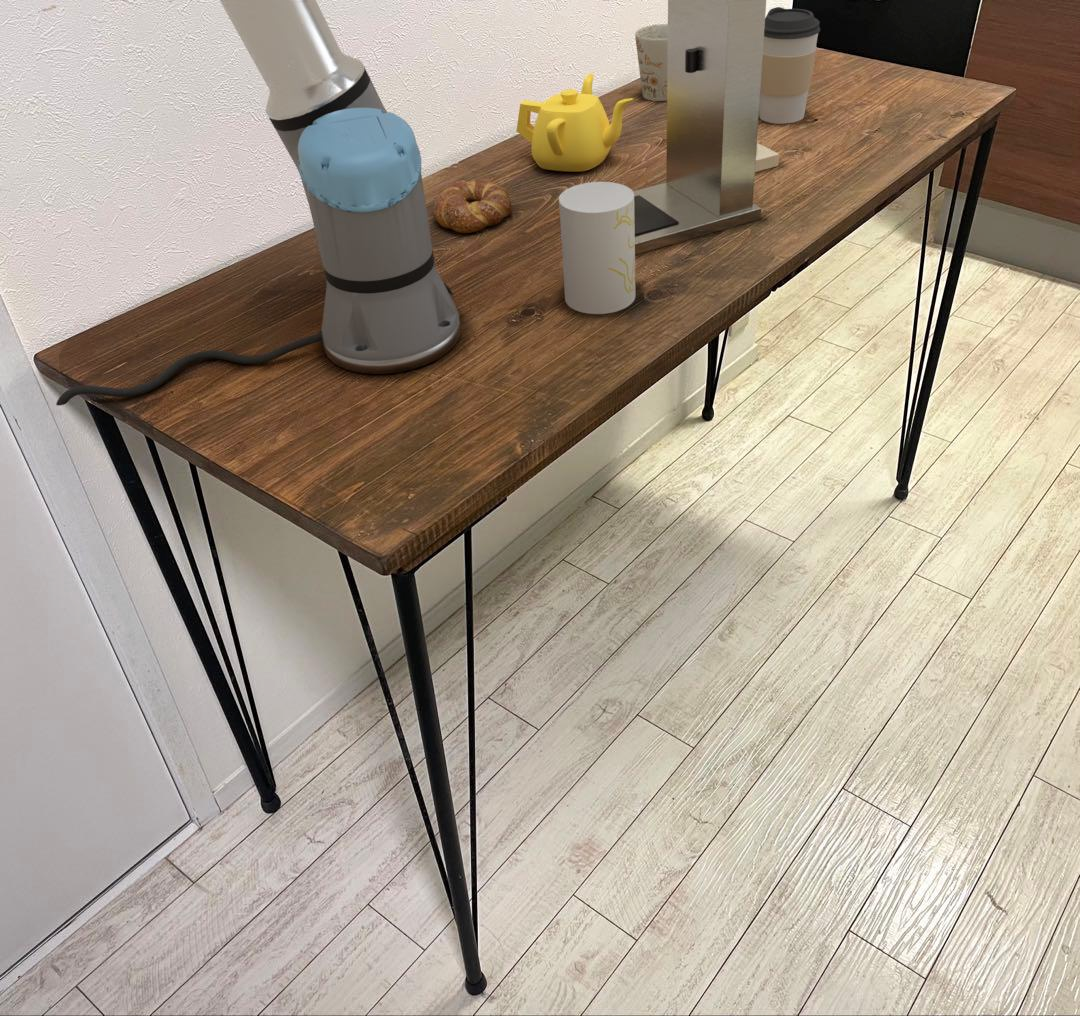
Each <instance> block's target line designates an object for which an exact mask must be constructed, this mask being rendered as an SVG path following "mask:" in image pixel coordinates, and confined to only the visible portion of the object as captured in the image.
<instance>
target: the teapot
mask: <svg viewBox="0 0 1080 1016" xmlns="http://www.w3.org/2000/svg"><path fill="white" fill-rule="evenodd" d="M594 78H595V77H594V73H588V74H587V75H586V76H585V78H584V79H583V83H582V86H581V91H580V93H579V90H577V89H573V88H572V89H569V88H568V89H564V90H562V91H560V93H557V94H554V95H551V96H550V97H549V98H547V99H546V100H544V102H542V101H535V100H526V99H523V100H522V101H521V103H519V109H518V116H517V117H518V118H517V125H516V132H517V133H518V134H519V135H520V136H521V137H523V138H524V139H525V140H527V141H528V142H529V143H530V144H531V156H532V158H533V160H534V161H535V163H536V164H537V166H538V167H539V168H541V169H543V170H548V171H555V172H556V171H557V172H573V173H574V172H575V173H576V172H586V171H589V170H592V169H594V168H596V167H597V166H599V165H600V164H602V163H603V162H604V161H605V159H606V158H607V157H608V154H609V153H610V150H611V149H612V145H613V146H614V144H616V142H617V141H618V140H619V138H620V136H621V133H622V130H623V117H624V116H623V114H624V111H625V108H626V106H627V105H628V104H629V103H630V102H632V101H633V100H634V97H629V98H624V99H623V98H622V99H620V100H619V101H617V102H616V103H615V104H614V107H613V111H612V116H611V117H612V118H611V122H610V121H609V119H608V115H607V112H606V111H605V108H604V106H603V104H602V102H601V100H600V99H599V96H598V95H596V94H593V81H594ZM532 113H535V114H537V117H536V120H535V123H534V125H533V124H531V116H532V115H531V114H532Z"/></svg>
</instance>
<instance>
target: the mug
mask: <svg viewBox="0 0 1080 1016" xmlns="http://www.w3.org/2000/svg"><path fill="white" fill-rule="evenodd" d="M634 38H635V46H636V54H637V61H638V69H639V78H640V86H641V93H642V97H643V98H644V99H645V100H647V101H652V102H667V55H668V23H659V24H658V23H657V24H652V25H646V26H643V27H640V28H638V29H637V30H636V31H635V33H634Z"/></svg>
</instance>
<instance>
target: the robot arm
mask: <svg viewBox="0 0 1080 1016" xmlns="http://www.w3.org/2000/svg"><path fill="white" fill-rule="evenodd" d="M219 2H220V3H221V6H222V7H223V9H224V11H225V13H226V14H227V16H228V19H229V20H230V21H231V24H232V25H233V27H234V29H235V31H236V33H237V34H238V36H239V38H240V40H241V42H242V43H243V45H244V47H245V49H246V51H247V52H248V54H249V56H250V57H251V60H252V61H253V63H254V65H255V66H256V68H257V70H258V72H259V74H260V75H261V77H262V80H263V81H264V82H265V84H266V86H267V88H268V90H269V93H268V99H267V102H266V106H265V113H266V116H267V118H268V119H269V121H270V123H271V125H272V126H273V127H274V129H275V131H276V133H277V135H278V137H279V138H280V140H281V142H282V144H283V146H284V147H285V149H286V151H287V152H288V154H289V157H290V158H291V160H292V161H293V163H294V166H295V167H296V169H297V172H298V173H299V176H300V180H301V183H302V187H303V190H304V193H305V197H306V200H307V204H308V208H309V211H310V215H311V219H312V224H313V227H314V232H315V236H316V241H317V245H318V250H319V254H320V255H319V256H320V259H321V264H322V267H323V272H324V276H325V281H326V288H325V290H326V291H325V296H324V306H323V313H322V322H321V331H319V332H316V333H314V334H312V335H308V336H306V337H305V336H304V337H302V338H300V339H297V340H295V341H291V342H290V343H287V344H285V345H282V346H280V347H278V348H276V349H273V350H271V351H269V352H267V353H266V352H265V353H263V354H258V355H242V354H237V353H233V352H229V351H223V350H214V349H213V350H212V349H210V350H203V351H198V352H194V353H191V354H188V355H186V356H184V357H182V358H180V359H179V360H177V361H175V362H173V364H171V365H170V366H169V367H168V368H166V369H165V370H164V371H163V372H162V373H160V374H159V375H157V376H156V377H155V378H153V379H152V380H151V379H150V381H148V382H145V383H142V384H140V385H138V386H137V385H136V386H133V387H109V386H101V385H89V384H87V385H78V386H74V387H72V388H71V387H70V388H69V389H67V390H66V391H64V392H63V393H62V394H61V395H60V396H59V397H58V399H57V400H56V406H59V407H60V406H64V405H66V404H68V402H69V401H70V400H72V399H73V398H74V397H77V396H79V395H98V396H105V397H116V398H117V397H118V398H119V397H120V398H121V397H122V398H126V397H127V398H128V397H135V396H139V395H142V394H145V393H148V392H151V391H152V390H153V391H154V390H155V389H157V388H159V387H160V386H162V385H163V384H165V383H166V382H167V381H168V380H170V379H171V378H173V376H174V375H175V374H177V373H178V372H179V371H181V370H182V369H184V368H185V367H186V366H189V365H190V364H193V363H195V362H199V361H204V360H208V359H209V360H210V359H217V360H223V361H229V362H233V363H236V364H241V365H242V364H243V365H258V364H264V363H268V362H270V361H271V362H272V361H273V360H276V359H278V358H281V357H282V356H284V355H287V354H289V353H291V352H293V351H296V350H299V349H301V348H304V347H307V346H309V345H313V344H315V343H318V342H321V341H322V345H323V348H324V352H325V355H326V357H327V358H328V359H329V360H330V361H331V362H332V363H333V364H335V365H337V366H338V367H340V368H342V369H344V370H348V371H352V372H355V373H359V374H369V375H370V374H372V375H373V374H374V375H383V374H395V373H401V372H406V371H410V370H414V369H417V368H421V367H423V366H426V365H428V364H430V363H433V362H435V361H437V360H439V359H440V358H442V357H443V356H445V355H447V354H448V353H449V352H450V351H451V350H452V349H453V348H454V347H455V346H456V344H457V343H458V341H459V340H460V337H461V334H462V328H461V327H462V326H461V320H460V313H459V311H458V309H457V306H456V304H455V302H454V300H453V298H454V299H456V298H455V295H454V293H453V292H452V289H451V287H450V286H448V285H447V284H446V283H445V282H444V281H443V279H442V277H441V275H440V273H439V271H438V269H437V267H436V263H435V256H434V251H433V243H432V242H433V241H432V236H431V230H430V224H429V217H428V210H427V202H426V196H425V189H424V183H423V175H422V156H421V150H420V148H419V145H418V143H417V138H416V135H415V133H414V131H413V128H412V127H411V125H410V124H409V123H408V122H407V121H406V120H405V119H404V118H403V117H401V116H400V115H398V114H396V113H394V112H391V111H389V112H388V110H387V109H386V107H385V106H384V104H383V102H382V99H381V97H380V96H379V94H378V92H377V89H376V88H375V85H374V82H373V81H372V79H371V77H370V75H369V74H368V71H367V69H366V67H365V65H364V63H363V62H362V60H360V59H359V58H356V57H353V56H350V55H347V54H345V53H343V52H342V50H341V48H340V46H339V44H338V42H337V40H336V37H335V36H334V34H333V32H332V29H331V28H330V26H329V23H328V22H327V19H326V18H325V16H324V14H323V12H322V10H321V7H320V6H319V3H318V2H317V0H219Z"/></svg>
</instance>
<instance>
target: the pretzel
mask: <svg viewBox="0 0 1080 1016" xmlns="http://www.w3.org/2000/svg"><path fill="white" fill-rule="evenodd" d="M512 210H513V204H512V201H511V199H510V196H509V192H508V191H507V189H506V188H504V186H501V185H499V184H496V183H494V182H492V181H491V180H490V179H489V180H487V179H484V178H477V179H473V180H471V181H467V180H464V179H461V180H457V181H453V182H450V183H448V184H446V185H445V186H443V187H442V188H441V189H440V191H438V192H437V195H436V198H435V202H434V203H433V207H432V213H433V217H434V220H435V221H436V222H437V223H438V225H440V226H441V227H443V228H446V229H451V230H452V231H454V232H456V233H460V234H469V233H470V234H471V233H475V232H479V231H481V230H483V229H485V228H486V227H492V226H497V225H498V224H500V223H501V222H502V221H503V219H504V218H506V217H508V216H509V215H511V213H512Z"/></svg>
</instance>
